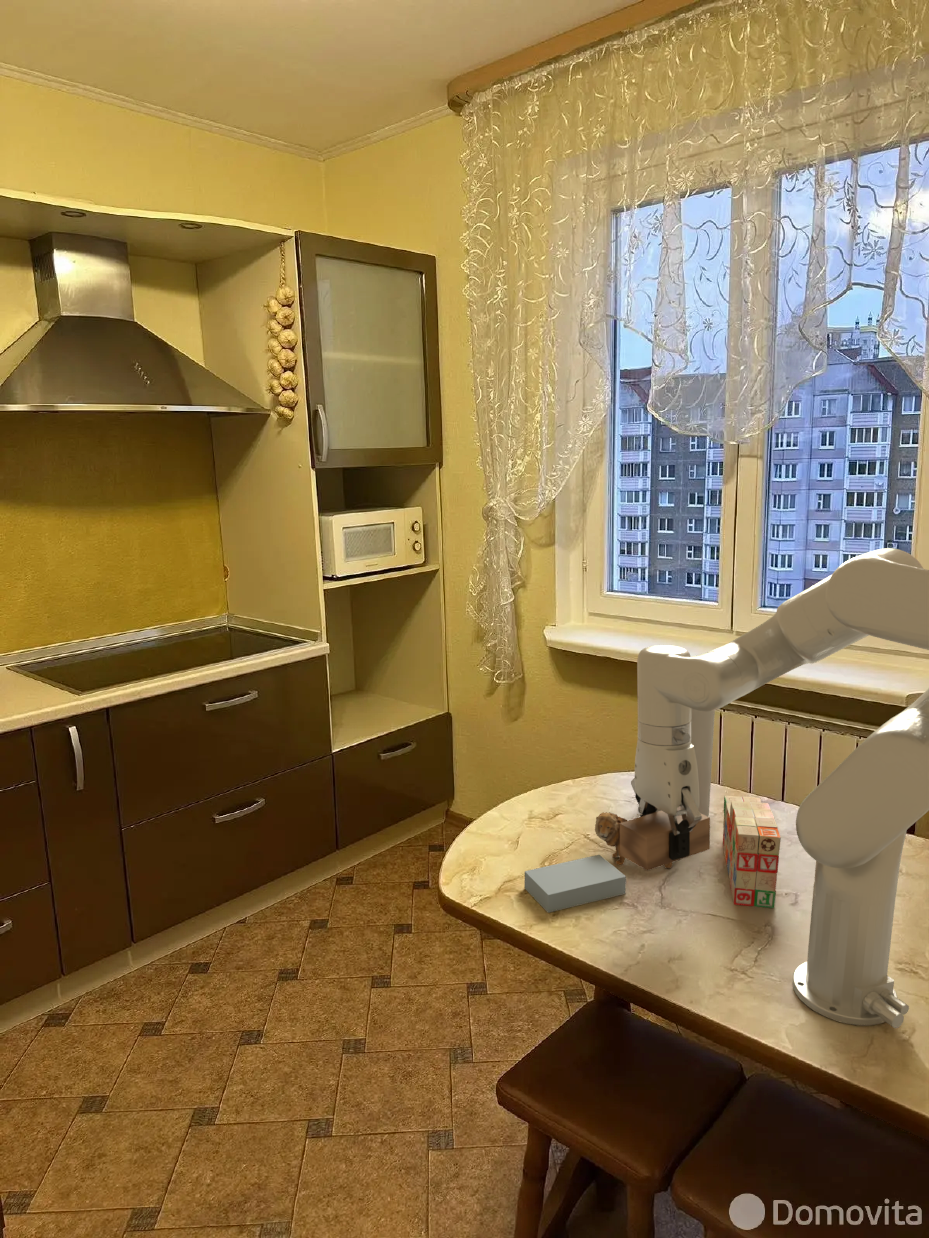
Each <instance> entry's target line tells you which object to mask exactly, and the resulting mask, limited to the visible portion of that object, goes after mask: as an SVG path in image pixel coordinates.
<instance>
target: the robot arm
mask: <svg viewBox="0 0 929 1238" xmlns="http://www.w3.org/2000/svg"><path fill="white" fill-rule="evenodd" d="M868 636H871V637H874V638H878V639H881V640H885V641H889V642H893V643H898V644H902V645H907V646H910V647H915V648H918V649H923V650H927V651H929V569H926V568H924V567H923V565H922V564H921V562H920V561H919V560H918V559H917V558H916V557H914V555H912V554H910V553H909V552H907V551H905V550H901V549H897V548H892V547H891V548H887V547H886V548H879V549H875V550H871V551H869V552H865V553H863V554H860V555H857V556H855V557H852V558H850V559H848V560H845V561H844V562H843V563H841V564H840V565H838V567H837V568H836V569H835V570H834V572H833V573H832V574H830V575H828V576H827V577H825V578H823V579H821V580H820V581H818V582H816V583H815V584H813V585H811V586H810V587H808V588H807V589H804V590H803V591H801V592H799V593H798V594H796V595H794V596H792V597H790V598H789V599H786V600H785V601H783V602H782V603H781V604H780V605H778V606H777V609H776V612H775V614H773V615H772V616H771V617H770V618H768V619H767V620H766V621H764V622H763V623H761V624H759V625H758V626H756V627H754V628H752V629H751V630H749V631H748V632H747V631H746V632H745V633H743V634H741V635H740V636H738V637H737V638H735V639H733V640H731V641H730V642H727V643H726V644H723V645H721V646H719V647H717V648H713V649H711V650H709V651H707V652H705V653H701V654H697V655H696V654H695V655H694V656H691V654H690V652H689V651H688V650H687V649H686V648H684V647H682V646H677V645H672V644H671V645H670V644H657V645H650V646H646V647H644V648H642V649H641V650H640V651H639V653H638V655H637V664H636V671H637V674H636V675H637V677H636V678H637V680H636V681H637V685H636V686H637V687H636V688H637V742H636V748H635V758H634V777H633V778H632V780H631V781H630V785H631V787H632V790H633V793H634V794H635V800H636V801H637V803H638V804H637V805H638V806H637V811H638V814H639V815H640V816H639V817H642V816H645V815H649V814H652V813H655V812H656V811H657V809H660V810H661V811H663V812H665V813H667V814H668V817H669V821H670V825H671V829H672V833H669V858H670V859H671V860H676V859H680V858H683V859H685V858H684V857H686V858H688V857H687V856H689V854H690V832H692V830H693V828H694V827H695V826H696V824H697V823H698V822H699V821H700V820H701V819H702V816H701V814H700V812H699V810H698V808H699V780H698V769H697V761H696V755H695V750H694V746H693V745H692V744H691V708H692V709H695V710H699V711H705V712H707V711H714V710H715V711H716V710H719V709H721V708H723V707H725V706H728V704H731V703H733V702H734V701H737V700H738V699H740V698H741V697H744V696H746V695H747V694H750V693H751V692H753V691H754V690H756V689H759V688H760V687H762V686H764V685H765V684H768V683H770V682H772V681H774V680H775V679H778V678H780V677H781V676H784V675H786V674H787V673H789V672H791V671H794V670H795V669H797V668H799V667H801V666H803V665H807V664H811V665H812V664H815V663H817V662H819V661H822V660H824V659H826V658H828V657H830V656H831V655H833V654H835V653H838V652H839V651H841V650H843V649H845V648H848V647H849V646H851V645H853V644H855V643H856V642H859V641H860V640H863V639H865V638H867V637H868ZM679 806H680V807H681V810H679V811H677V808H679ZM657 812H658V811H657ZM928 812H929V687H928V688H927V689H926V690H925V691H924V692H923V693H922V694H920V696H919V697H918V698H917V699H915V700H914V702H912V703H911V704H910V705H908V706H907V707H906V708H905V709H904V710H902V711H901V712H899V713H898V714H896V715H895V716H893V717H891V718H890V719H889V720H887V721H886V722H885V723H883V724H882V725H880V726H879V727H878V728H877V729H876V730H875V731H873V732H872V733H871V734H870V735H868V736H867V738H866V739H864V740H863V741H862V742H861V743H860V744H859V745H858V746H856V748H855V749H854V750H853V751H852V752H851V753H850V754H849V755H848V756H847V757H846V758H845V759H844V760H843V761H842V762H840V764H838V766H837V767H836V768H835V769H833V770H832V771H831V772H830V774H829V775H827V776H826V777H825V778H824V779H823V780H822V781H821V782H820V783H819V784H818V786H816V787H815V788H814V789H813V790H811V792H810V793H809V794H807V796H806V797H805V798H804V799H803V801H802V802H801V803H800V805H799V806H798V809H797V813H796V816H795V817H796V818H795V830H796V835H797V837H798V838H797V839H798V840H799V843H800V844H801V845H800V846H801V847H802V848H803V850H804V851H805V852H806V853H807V854H808V856H810V857H811V859H813V860H814V861H815V867H814V876H813V889H812V890H813V891H812V899H811V900H812V902H811V911H810V912H811V913H810V914H811V915H810V924H809V935H808V945H807V946H808V947H807V959H806V960H807V961H805V962H803V963H801V964H800V965H798V966H797V967H796V968H795V970H794V972H793V974H792V987H793V991H794V992H795V994H796V996H797V997H798V998H799V999H800V1001H801V1002H802V1003H804V1005H806V1006H807V1007H808V1008H810V1009H811V1010H813V1011H814V1012H816V1013H817V1014H820V1015H821V1016H823V1017H825V1018H828V1019H831V1020H833V1021H836V1022H839V1023H843V1024H849V1025H854V1026H875V1025H879V1024H883V1023H887V1025H889V1026H891V1027H892V1028H894V1029H898V1028H900V1027H901V1026H902V1025H903V1023H904V1019H905V1018H904V1015H906V1014H908V1012H909V1009H910V1006H909V1005H908V1004H907V1003H906V1002H904V1001H902V1000H901V999H900V998H898V994H897V991H896V990H895V989H894V987H895V986H894V985H895V980H894V978H891V977H890V976H889V975H888V972H889V971H888V969H889V961H890V952H891V942H892V941H891V940H892V934H893V923H894V915H895V907H896V906H895V904H896V897H897V892H898V890H897V889H898V881H899V874H900V866H901V859H902V855H903V854H902V853H903V850H904V845H905V839H906V835H907V832H908V831H907V830H908V829H910V828H911V826H913V825H914V824H915V823H916V822H917V821H919V820H920V819H921V818H922V817H923V816H925V814H926V813H928ZM679 815H682V819H683V820H682V821H681V822H680V823H679V824H678V822H677V818H676V816H679ZM689 857H690V856H689ZM680 860H681V859H680Z"/></svg>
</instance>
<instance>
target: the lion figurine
mask: <svg viewBox="0 0 929 1238" xmlns="http://www.w3.org/2000/svg"><path fill="white" fill-rule="evenodd" d="M626 821H628V819H626V818H625V817H624V818H623V817H621V816H618V814H616V813H612V812H607V811H606V812H605V811H604V812H601V813H600V814H599V815H598V816H596V818H595V825H594V826H595V827H594V832H595V834H596V837H598V838H599V839H601V840H602V841H604V842H605V843H606V845H607V846H609V847H614V849H615V852H613V853H612V854H611V856H612V858H615V859H617V858H618V859H617V860H615V864H616V865H618V866H622V865H623V864H624V863H625V860H626V858H624V857H623V856H621V855H620V823H622V822H626ZM677 861H679V860H677ZM672 866H673V862H671V863H669V864H666V865H663V867H664V868H665V869H671V868H672Z"/></svg>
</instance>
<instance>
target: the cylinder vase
mask: <svg viewBox="0 0 929 1238" xmlns="http://www.w3.org/2000/svg"><path fill="white" fill-rule="evenodd" d="M715 715H716V710H714V711H707V712H705V711H699V710H695V709H692V708H691V744H692V745H693V746H694V750H695V755H696V761H697V769H698V780H699V808H698V810H699V812H700V813H701V814H703V815H705V816H708V817H710V801H711V785H712V784H711V783H712V767H713V766H712V764H713V748H714V731H715V730H714V729H715ZM657 811H661V810H660V809H657ZM657 811H656V812H657Z"/></svg>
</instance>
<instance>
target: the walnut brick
mask: <svg viewBox="0 0 929 1238" xmlns="http://www.w3.org/2000/svg"><path fill="white" fill-rule="evenodd" d="M679 810H681V807H680V806H679V808H677V811H679ZM700 814H701V813H700ZM701 816H702V819H701V820H700V821H699V822H698V823H697V824H696V826H695V827H694V828H693V830H692V832H690V854H689V856H687V857H684V858H680V859H676V860H671V859H670V858H669V833H672V829H671V825H670V821H669V817H668V814H667V813H665V812H663V811H658V812H655V813H652V814H649V815H645V816H642V817H640V816H639V817H635V818H632V819H630V820H627V821H626V822H622V823H620V855H621V856H623V857H624V858H625V860H628V861H630V863H633V864H634V865H636V866H638V867H640V868H642V869H643V870H645V871H647V872H648V871H651V870H655V869H657V868H659V867H662V866H663V867H664V865H666V864H669V863H671V862H672V863H674V862H676V861H677V860H678V861H680V860H682V859H685V858H689V857H691V856H694V855H698V854H700V853H703V852H706V851H708V850H710V849H711V845H710V844H711V839H710V838H711V832H710V831H711V818H710V816H705V815H703V814H701ZM676 818H677V822H678V824H679V823H680V822H681V821H682V820H683V819H682V815H679V816H676Z"/></svg>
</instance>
